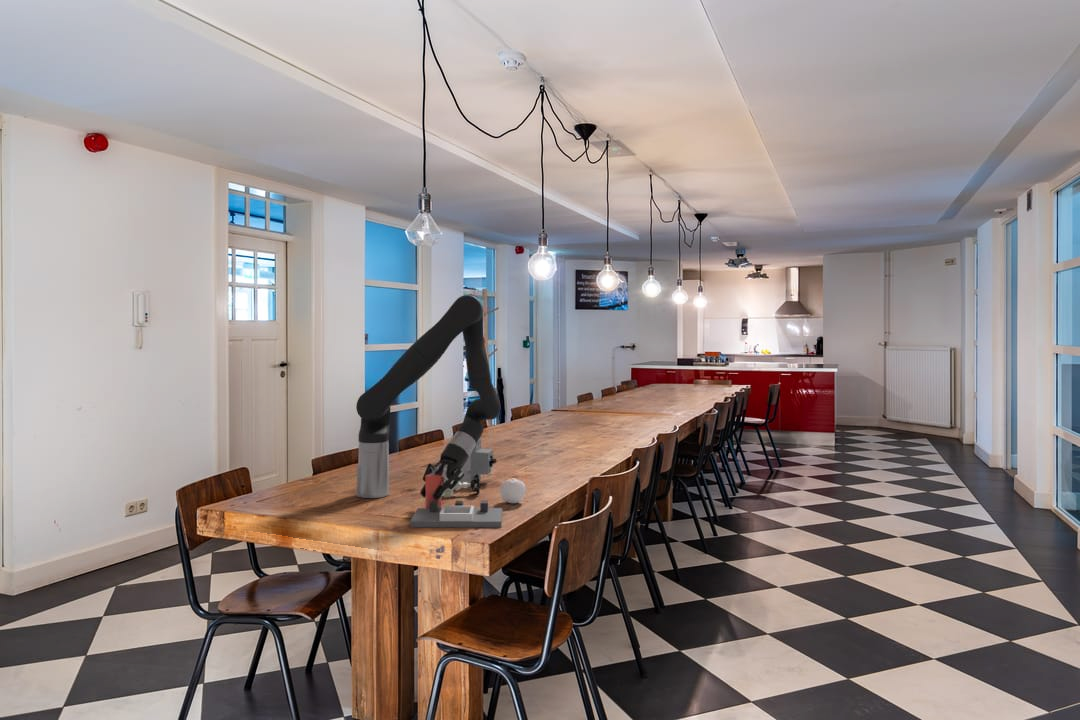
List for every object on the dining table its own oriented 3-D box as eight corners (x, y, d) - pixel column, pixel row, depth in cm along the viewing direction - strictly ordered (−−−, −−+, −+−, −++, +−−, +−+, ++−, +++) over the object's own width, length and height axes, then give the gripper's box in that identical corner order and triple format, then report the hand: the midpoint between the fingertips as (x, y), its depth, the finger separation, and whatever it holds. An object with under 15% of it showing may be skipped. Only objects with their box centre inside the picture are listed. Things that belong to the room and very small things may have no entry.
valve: (441, 499, 206) (480, 497, 209) (441, 478, 206) (480, 476, 209) (439, 494, 213) (476, 492, 216) (439, 473, 213) (476, 472, 216)
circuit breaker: (492, 485, 225) (493, 441, 225) (452, 484, 227) (452, 440, 227) (497, 481, 233) (498, 438, 232) (458, 479, 235) (458, 437, 234)
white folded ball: (524, 499, 206) (524, 475, 206) (527, 505, 198) (527, 480, 198) (498, 500, 205) (498, 475, 205) (500, 506, 197) (500, 480, 197)
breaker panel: (409, 527, 175) (410, 512, 174) (417, 513, 189) (417, 499, 188) (501, 527, 176) (501, 512, 175) (502, 513, 190) (502, 499, 189)
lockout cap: (424, 511, 190) (424, 477, 190) (426, 507, 195) (426, 474, 195) (440, 511, 190) (440, 477, 190) (442, 507, 195) (442, 474, 195)
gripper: (435, 440, 202) (404, 486, 193) (469, 444, 194) (439, 493, 184) (448, 455, 207) (418, 500, 198) (481, 460, 198) (452, 508, 189)
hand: (428, 496), depth 191 cm, fingers closed on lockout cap, 4 cm apart
